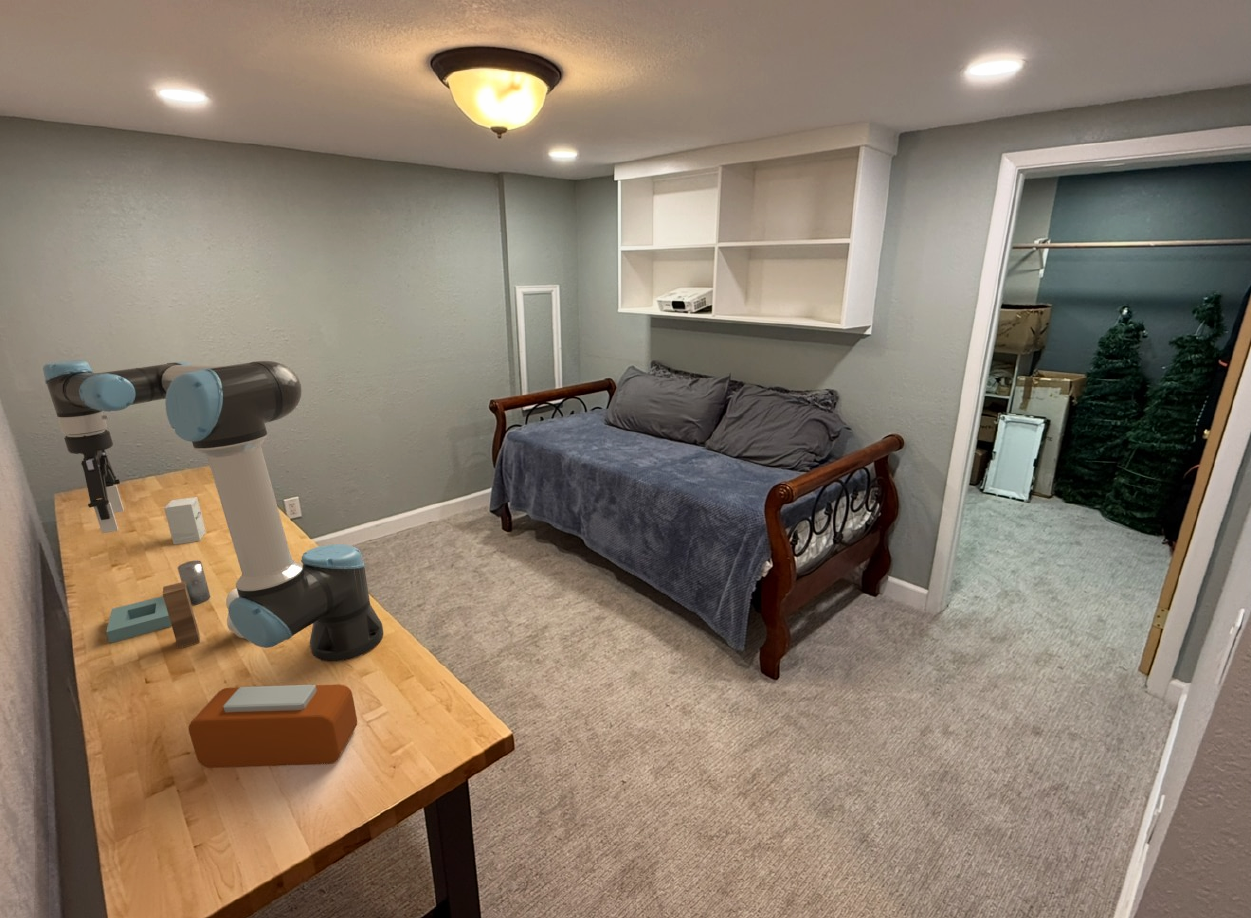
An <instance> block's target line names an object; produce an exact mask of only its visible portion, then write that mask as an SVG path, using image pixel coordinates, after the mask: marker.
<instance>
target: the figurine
mask: <svg viewBox="0 0 1251 918" xmlns="http://www.w3.org/2000/svg"><path fill="white" fill-rule="evenodd" d="M235 598H239V595H238V591H237V588H236V587H235V588H233V589H232V590H231V591H230V592H229V593H228V594H227V596H226V599H225V604H226V605H225V606H226V608H227V609H228V608H229V605H230V603H231V602H232V601H233V600H234V599H235ZM226 625H227V629H229V631H231V632H232V633H234V635H236V636H237V637H238V638H240V639H246V638H245V637H243V636H242V635H241V634H240V633H239V631H238V630H237V629H236V628H235V626H234V625H233V623H232V621H231V619H230V616H229V612H228V613H227V618H226Z"/></svg>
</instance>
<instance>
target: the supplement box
mask: <svg viewBox="0 0 1251 918" xmlns="http://www.w3.org/2000/svg"><path fill="white" fill-rule="evenodd" d="M163 509H164V513H165V518H166V520H167V521H166V522H167V524H168V528H169V532H170V535H171V541H172V542H173V545H174V546H175V545H181V544H188V543H195V542H200V541H201V540H202V539H203V536H204V535H205V534H206V532H207V531H206V528H205V524H204V523H205V522H204V518H203V515H202V511H201V507H200V503H199V499H198V497H197V496H195V497H194V496H193V497H186V498H179V499H173V500H170V501H169V502H168V503H167V504H166V506H164V508H163Z"/></svg>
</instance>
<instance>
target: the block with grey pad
mask: <svg viewBox="0 0 1251 918" xmlns="http://www.w3.org/2000/svg"><path fill="white" fill-rule="evenodd" d="M354 701H355V700H354V695H353V692H352V690H351V689H350V687H349V686H346V685H345V684H339V683H338V684H301V685H300V684H299V685H298V684H297V685H294V684H293V685H292V684H291V685H268V686H267V685H266V686H265V685H264V686H240V687H238V686H237V687H225V688H222V689H220V690H218V692H217V693H216V694H215V695H214V696H213V698H211V699H210V701H208V703H207V704H206V705H205V706H204V707H203V708H202V709H201V710H200V711H199V713H197V714H196V716H195V717H193V719H192V721H190V723H189V725H188V734H189V736H190V739H191V743H192V746H193V750H194V753H195V756H196V759H197V761H198V763H199V764H200V765H201V766H203V767H205V768H209V769H220V768H221V769H222V768H246V767H247V768H249V767H250V768H251V767H252V768H253V767H255V768H256V767H278V766H279V767H280V766H281V767H282V766H307V765H308V766H309V765H313V766H315V765H329V764H334V763H335V762H337V761H338V760H339V758H340V757H341V755H342V753H343V751H344V749H345V748H346V746H347V744H348V742H349V741H350V739H351V737H352V735H353V733H354V732H355V729H356V727H357V725H358V717H357V713H356V706H355V702H354Z"/></svg>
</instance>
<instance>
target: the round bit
mask: <svg viewBox="0 0 1251 918" xmlns="http://www.w3.org/2000/svg"><path fill="white" fill-rule="evenodd" d="M177 571H178V575H179V579H180V581H181V582H185V583H186V586H187V590H188V594H189V597H190V601H191V605H192V606H193V605H199V604H202V603H205V602H207V601H209V600H210V598H211V594H210V590H209V586H208V581H207V578H206V574H205V571H204V567H203V562H202V561H201V560H190V561H186V562H184V563H181V564H179V566H177ZM181 582H180V583H181Z"/></svg>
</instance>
